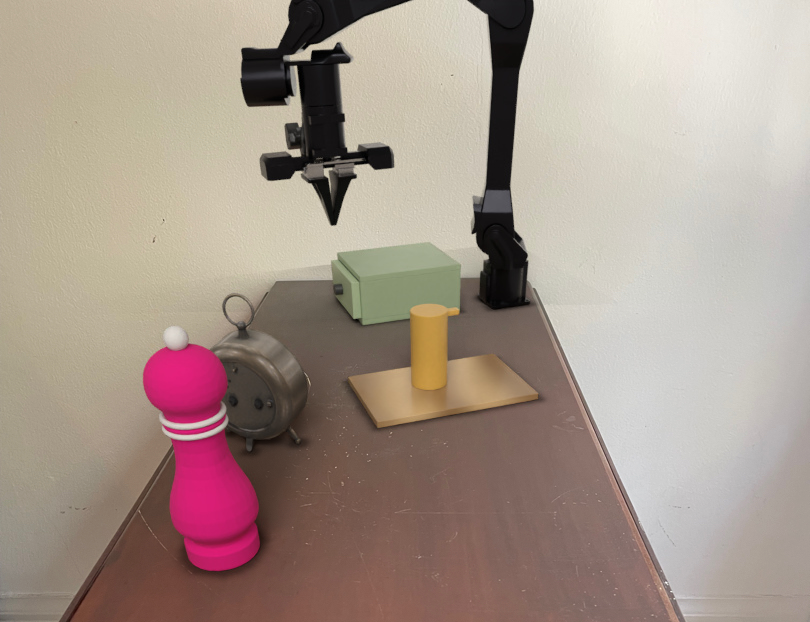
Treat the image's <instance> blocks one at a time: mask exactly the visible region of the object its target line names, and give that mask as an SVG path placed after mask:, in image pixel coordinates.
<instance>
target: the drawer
mask: <svg viewBox="0 0 810 622" xmlns="http://www.w3.org/2000/svg"><path fill="white" fill-rule="evenodd" d="M330 264H331V275H332V276H331V277H332V289H333V290H332V291H333V295H334V296H335V297H336V299H337V300H338V302H340V304H341V305H342V307H344V309H345V310H346V311H347V312H348V314H349V315H350V316H351V317H352V319H353V320H356V319H357V320H358V318H361V305H360V289H359V280H358V279H357V278H356V277H355V276H354V275H353V274H352V273H351V272H350V271H349V270H347V269H346V267H345V266H344V265H343V264H342V263H341V262H340V261H339V260H338V259H332V260H330Z"/></svg>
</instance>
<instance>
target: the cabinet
mask: <svg viewBox="0 0 810 622" xmlns="http://www.w3.org/2000/svg"><path fill="white" fill-rule="evenodd" d="M336 256H337V257H336V258H337V260H339V261H340V262H341V263H342V264H343V265H344V266H345V267H346V269H347V270H349V271H350V272H351V273H352V274H353V275H354V276H355V277H356V278H357V279H358V280H359V289H360V305H361V318H358V319H357V320H358V321H359V322H360V324H361V325H362V326H366V325H374V324H375V325H376V324H381V323H387V322H388V323H389V322H394V321H403V320H410V309H411V308H412V307H414V306H417V305H421V304H438V305H442V306H445V307H446V308H454V307H456V308H458V309H459V312H460V311H461V276H462V275H461V273H462V271H461V270H462V264H461V263H460V262H459V261H457V260H456V259H455V258H453V257H452V256H450V255H449V254H447V253H446V252H444V251H443V250H442V249H440V248H439V247H437V246H436V245H435V244H433V243H432V242H431V241H425V242H418V243H417V242H416V243H407V244H400V245H399V244H398V245H392V246H383V247H382V246H381V247H374V248H365V249H357V250H348V251H340V252H337V253H336Z"/></svg>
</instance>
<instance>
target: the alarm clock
mask: <svg viewBox="0 0 810 622" xmlns="http://www.w3.org/2000/svg"><path fill="white" fill-rule="evenodd" d="M233 297H237V298H241V299H242V300H243V301H245V302H246V303H247V305H248V306H249V307H250V311H251V312H250V313H251V316H250V320H249V321H248V322H247V323H246V322H245V321H244V320H239V321H237V322H235V321H233V320H232V319H231V318H230V317H229V315H228V313H227V310H226V309H227V308H226V305H227V302H228V301H229V300H230V299H231V298H233ZM221 308H222V312H223V315H224V317H225V319H226V320H227V321H228V322H229V323H230V324H231V325H232V326H235V327H236V328H237V329H235V330H233V331H230V332H229V333H227V334H226V335H224V336H223V337H222V338H221V339H220V340H219V341H218V342H217V343H215V344H214V345H213V346H212V347H210V348H209V350H210V351H212V352H213V353H214V354H215V355H216V356H217V357H218V358H219V360H220V361H221V363H222V364H223V366H224V369H225V371H226V375H227V382H228V386H227V391H226V393H225V396H224V397H223V399H222V400H221V401H222V402H223V403H224V404H225V406H226V414H227V416H228V424H227V426H226V427H225V429H226V431H227V432H228V433H231V432H232V433H234V434H236V435H239V436H241V437H244V438H245V441H246V445H245V446H246V447H245V448H246V451H247V452H251V451H253V443H254V440H269V439H273V438H276V437H278V436H280V435H281V434H283V433H284V432H286V433H287V435H289V436H290V437H291V438H292V439H293V440H294V443H295V444H296V445H299V444H301V442H302V439H301V438H299V436H298V434H297V432H296V431H295V430H294V429H293V428H292V426H291V425H292V424H293V423H294V422H295V420H296V419H297V418H298V417H299V416H300V415H301V413H303V411H304V409H305V407H306V405H307V401H308V396H309V389H308V388H309V387H308V386H309V385H308V380H307V376H306V373H305V371H304V368H303V367H302V365H301V363H300V360H298V358H297V357H296V355H295V354H294V353H293V351H292V350H291V349H290V348H288V347H287V346H286V345H285V344H284V343H283V342H282V341H281V340H279V339H278V338H276V337H274V335H272V334H269V333H267V332H264V331H262V330H258V329H253V328H247V327H248V326H250V325H251V324H252V322H253V321H254V319H255V308H254V305H253V303H252V302H251V300H249V298H248V297H246V296H245V294H244V295H243V294H241V293H239V292H232V293H229V294H227V295H226V296H225V297H224V299H223V300H222V304H221Z"/></svg>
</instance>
